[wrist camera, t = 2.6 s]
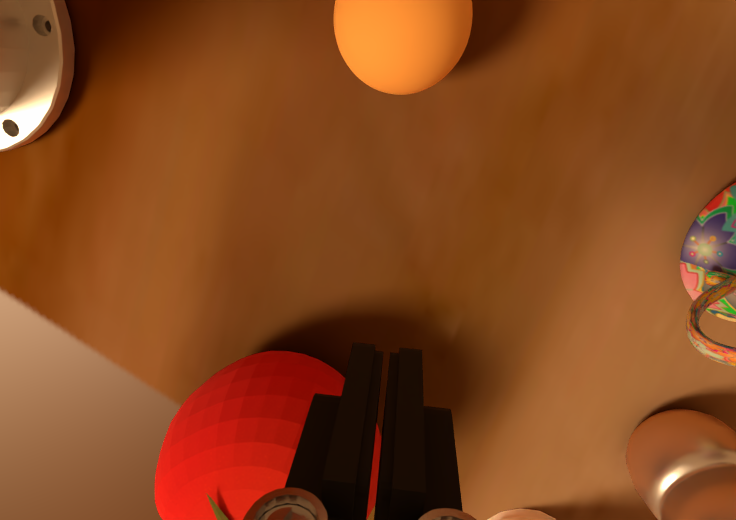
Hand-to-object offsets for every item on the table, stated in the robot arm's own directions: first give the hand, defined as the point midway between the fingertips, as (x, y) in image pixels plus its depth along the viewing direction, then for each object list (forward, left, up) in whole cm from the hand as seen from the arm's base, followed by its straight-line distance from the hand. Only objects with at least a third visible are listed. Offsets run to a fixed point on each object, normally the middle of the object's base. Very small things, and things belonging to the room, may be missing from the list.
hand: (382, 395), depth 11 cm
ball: (0, +9, -11) cm, 15 cm away
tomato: (-5, -13, -14) cm, 20 cm away
